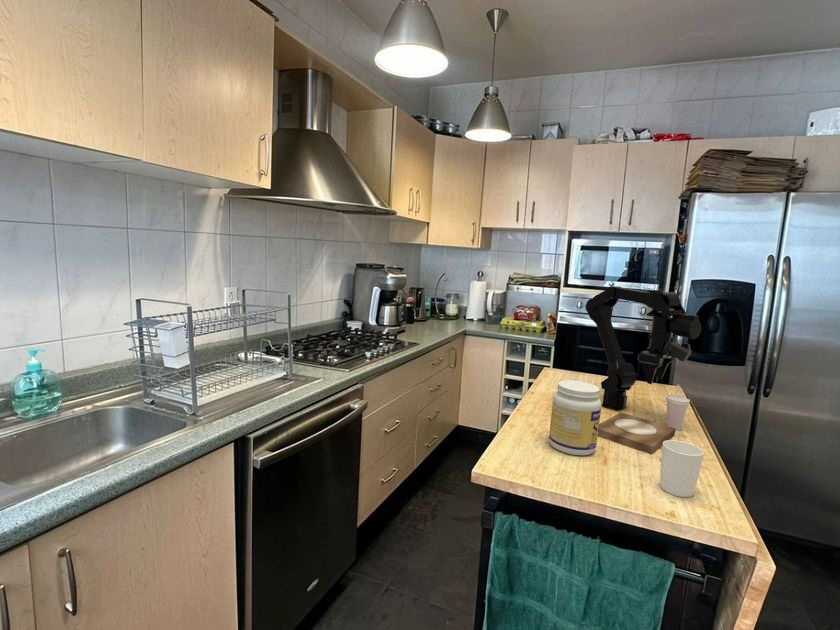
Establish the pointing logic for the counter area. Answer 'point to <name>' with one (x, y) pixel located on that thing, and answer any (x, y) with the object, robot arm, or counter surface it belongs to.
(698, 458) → the white cup
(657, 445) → the walnut base
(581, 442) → the supplement tub
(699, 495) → the counter surface
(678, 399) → the smoothie
